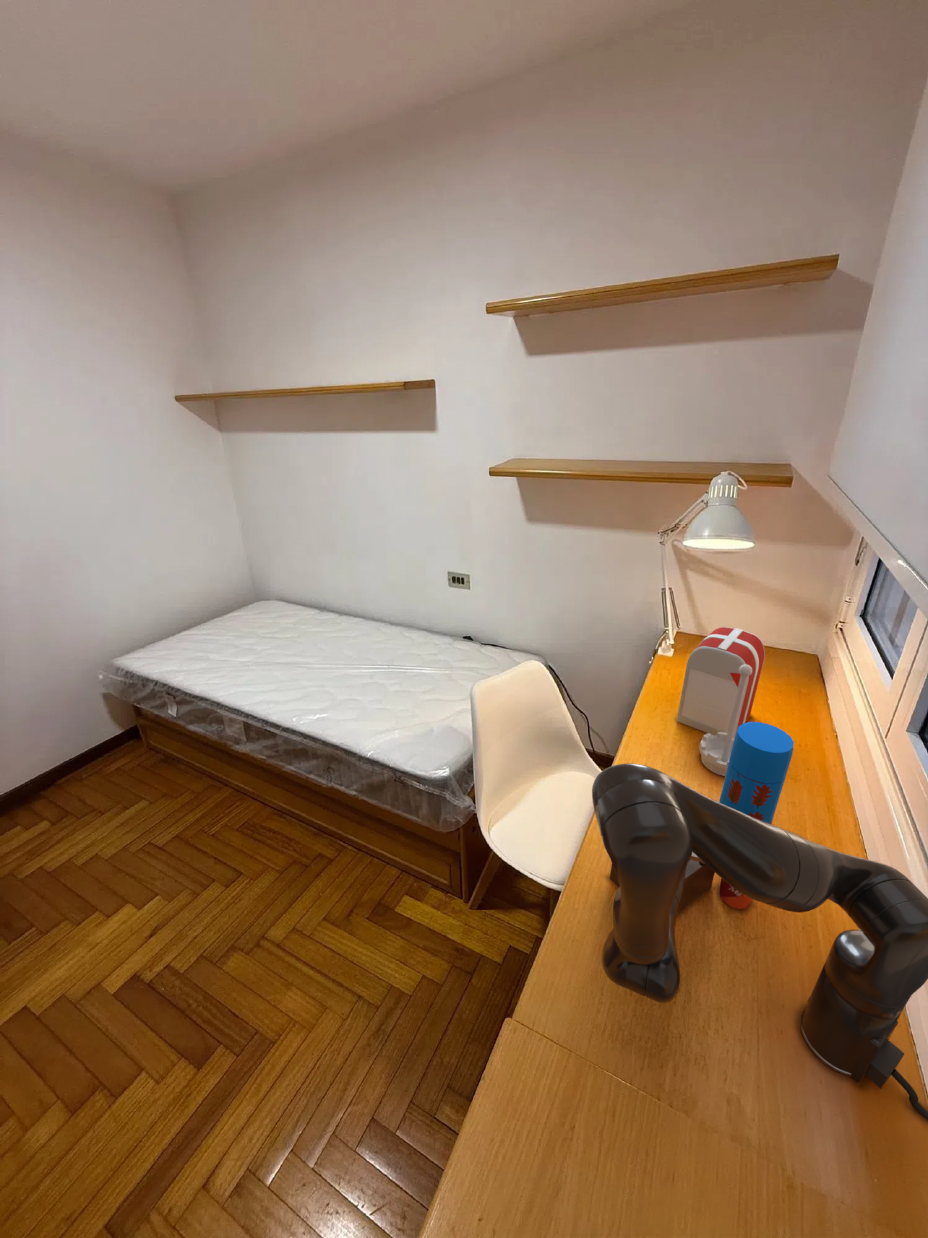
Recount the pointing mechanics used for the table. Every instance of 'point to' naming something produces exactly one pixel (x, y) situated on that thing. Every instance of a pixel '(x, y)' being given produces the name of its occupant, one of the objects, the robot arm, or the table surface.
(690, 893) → the chest
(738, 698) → the flag stand
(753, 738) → the thermos
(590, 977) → the table surface
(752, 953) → the table surface
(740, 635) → the toy mailbox
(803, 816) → the table surface
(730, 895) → the paper cup
